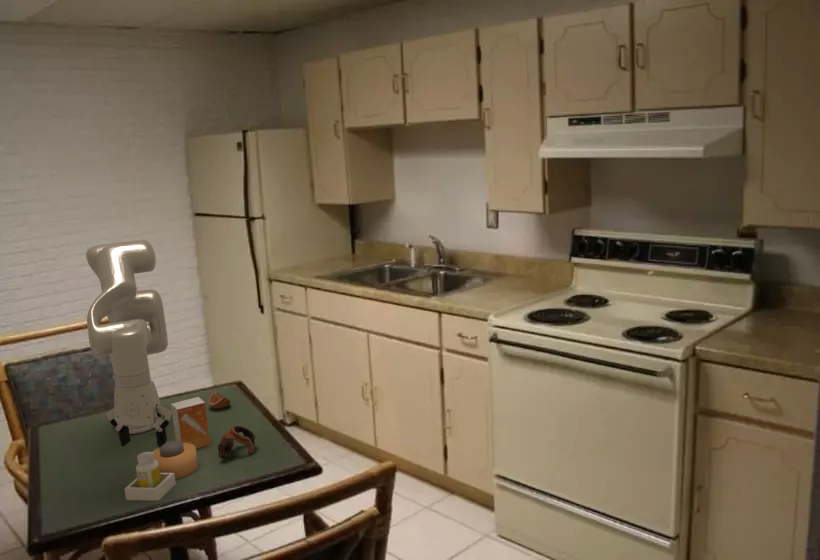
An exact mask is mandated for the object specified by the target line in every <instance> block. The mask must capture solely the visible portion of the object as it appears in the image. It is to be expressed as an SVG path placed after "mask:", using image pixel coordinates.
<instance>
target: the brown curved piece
mask: <svg viewBox="0 0 820 560" xmlns="http://www.w3.org/2000/svg"><path fill="white" fill-rule="evenodd" d="M239 433H242V434H243V435H241V434H239ZM255 440H256V434H254V432H252V430H250V429H249V428H246V427H244V426H241V425H240V426H239V425H234V426H232V427H231V428H230V429H229V430H227V431H226V432H225V433H224V434H223V435H222V437H221V438H220V442H219V443H218V446H217V450H218V456H219V457H220V458H221V459H222V458H223V457H225V458H229V457H230V456H231V452H232V449H233V448H234V445H235V442H236V443H238V444H241V445H245V446H248V451H247V453H248V455H252V454H253V452H254V449H255V447H256V441H255ZM251 453H252V454H251Z"/></svg>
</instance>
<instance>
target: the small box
mask: <svg viewBox="0 0 820 560" xmlns="http://www.w3.org/2000/svg"><path fill="white" fill-rule="evenodd" d="M170 407H171V411H172V412H173V416H172V422H173V423H172V424H173V431H174V436H175V440H178V441H182V442H183V443H190V444H193V445H195V447H196V450H197V449H201V448H205V447H209V446H211V439H210V438H211V437H210V431H209V430H210V429H209V422H208V415H207V409H206V407H207V406H206V402H205V401H204V400H203V399H202V398H201V397H199V396H197V397H193V398H187V399H184V400H181V401H177V402H173V403H170Z"/></svg>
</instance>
